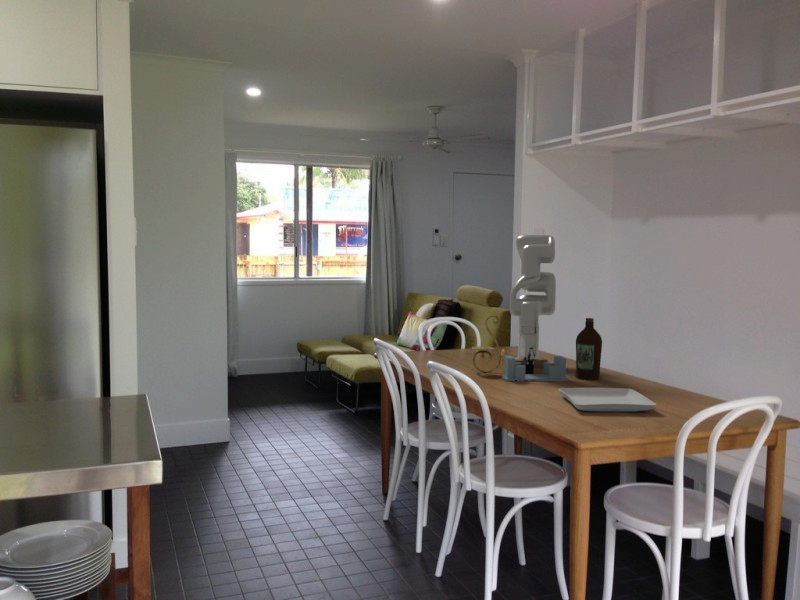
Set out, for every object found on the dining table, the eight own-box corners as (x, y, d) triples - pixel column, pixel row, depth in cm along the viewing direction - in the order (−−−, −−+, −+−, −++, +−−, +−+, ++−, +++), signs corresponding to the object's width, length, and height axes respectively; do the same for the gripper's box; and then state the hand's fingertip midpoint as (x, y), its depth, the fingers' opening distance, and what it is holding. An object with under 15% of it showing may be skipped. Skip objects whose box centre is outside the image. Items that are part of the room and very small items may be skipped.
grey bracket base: (500, 376, 297) (501, 355, 296) (561, 376, 298) (562, 355, 297) (505, 381, 287) (506, 359, 286) (568, 381, 288) (569, 359, 287)
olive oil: (579, 374, 303) (581, 316, 301) (604, 377, 297) (606, 318, 295) (570, 378, 294) (572, 318, 292) (596, 381, 288) (598, 320, 286)
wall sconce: (501, 370, 310) (502, 313, 308) (505, 374, 301) (506, 316, 299) (469, 370, 310) (471, 313, 308) (472, 374, 300) (474, 315, 298)
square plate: (630, 397, 260) (631, 387, 260) (657, 415, 233) (658, 404, 232) (557, 396, 260) (557, 386, 260) (575, 414, 233) (575, 403, 232)
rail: (508, 373, 304) (508, 359, 303) (543, 371, 307) (543, 358, 307) (512, 374, 300) (512, 360, 299) (547, 373, 303) (547, 359, 303)
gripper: (516, 327, 310) (515, 368, 312) (525, 333, 293) (523, 376, 295) (532, 327, 311) (531, 368, 312) (542, 333, 294) (541, 376, 295)
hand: (528, 372), depth 304 cm, fingers closed on rail, 4 cm apart
